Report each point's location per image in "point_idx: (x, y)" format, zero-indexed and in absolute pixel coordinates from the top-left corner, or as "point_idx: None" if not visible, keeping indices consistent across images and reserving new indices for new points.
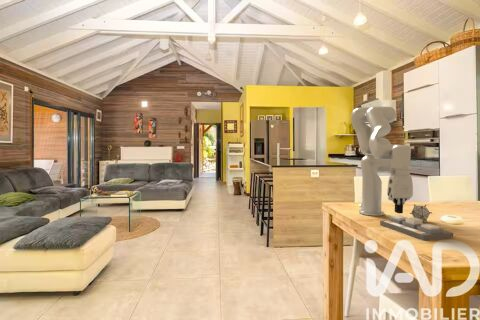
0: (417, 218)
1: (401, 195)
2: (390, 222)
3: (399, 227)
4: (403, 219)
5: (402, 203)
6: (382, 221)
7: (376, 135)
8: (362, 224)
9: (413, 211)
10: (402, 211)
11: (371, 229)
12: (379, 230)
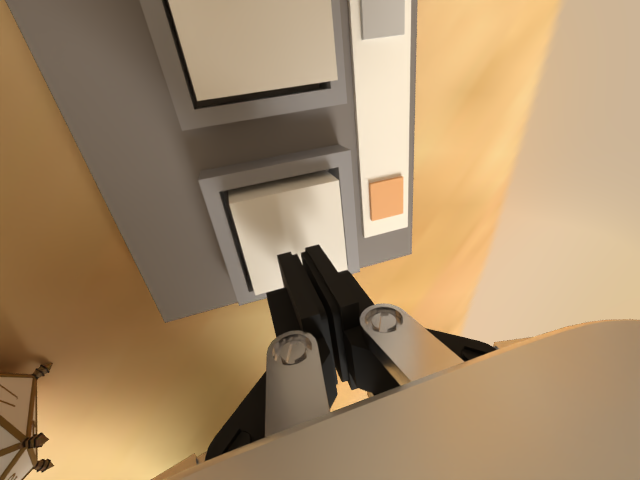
0: (183, 17)
1: (548, 425)
2: (393, 177)
3: (415, 10)
4: (282, 186)
5: (311, 340)
6: (411, 230)
7: None
8: (484, 245)
9: (22, 446)
10: (284, 262)
11: (524, 121)
12: (498, 88)
